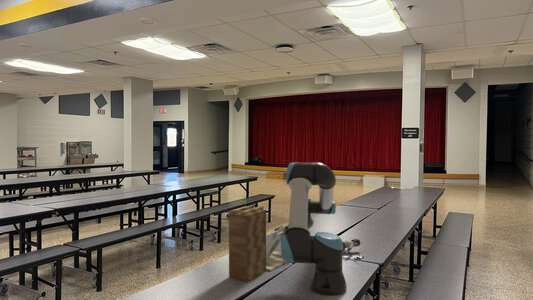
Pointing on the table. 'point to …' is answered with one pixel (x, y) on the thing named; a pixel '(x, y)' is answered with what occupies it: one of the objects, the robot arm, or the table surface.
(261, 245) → the wooden rectangular column
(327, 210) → the robot arm
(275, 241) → the block
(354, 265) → the table surface
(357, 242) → the figurine
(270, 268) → the board
